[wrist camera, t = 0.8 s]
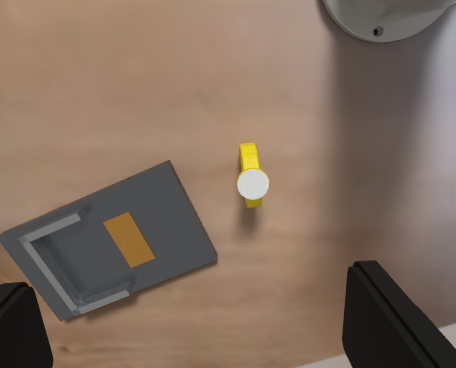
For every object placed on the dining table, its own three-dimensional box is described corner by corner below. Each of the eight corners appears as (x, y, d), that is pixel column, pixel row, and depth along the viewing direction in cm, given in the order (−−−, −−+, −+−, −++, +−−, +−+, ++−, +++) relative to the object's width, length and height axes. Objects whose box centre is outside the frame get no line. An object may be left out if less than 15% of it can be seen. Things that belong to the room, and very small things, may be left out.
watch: (263, 193, 34) (272, 216, 28) (237, 196, 34) (241, 220, 28) (258, 137, 32) (267, 150, 26) (231, 140, 32) (233, 154, 26)
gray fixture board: (169, 159, 33) (165, 167, 30) (217, 253, 36) (217, 267, 34) (3, 232, 35) (-14, 244, 32) (64, 314, 38) (53, 331, 36)
